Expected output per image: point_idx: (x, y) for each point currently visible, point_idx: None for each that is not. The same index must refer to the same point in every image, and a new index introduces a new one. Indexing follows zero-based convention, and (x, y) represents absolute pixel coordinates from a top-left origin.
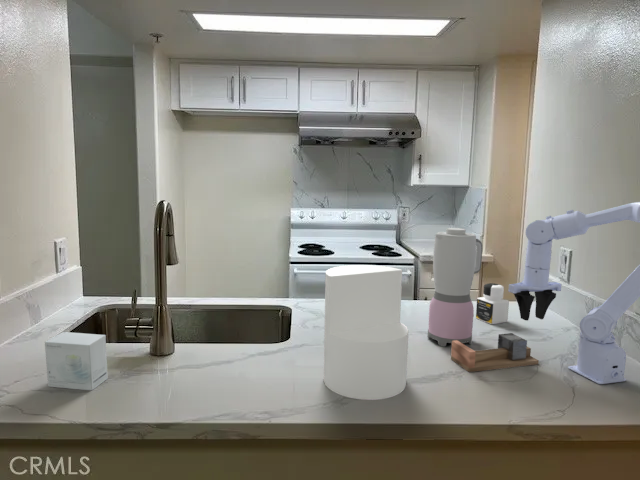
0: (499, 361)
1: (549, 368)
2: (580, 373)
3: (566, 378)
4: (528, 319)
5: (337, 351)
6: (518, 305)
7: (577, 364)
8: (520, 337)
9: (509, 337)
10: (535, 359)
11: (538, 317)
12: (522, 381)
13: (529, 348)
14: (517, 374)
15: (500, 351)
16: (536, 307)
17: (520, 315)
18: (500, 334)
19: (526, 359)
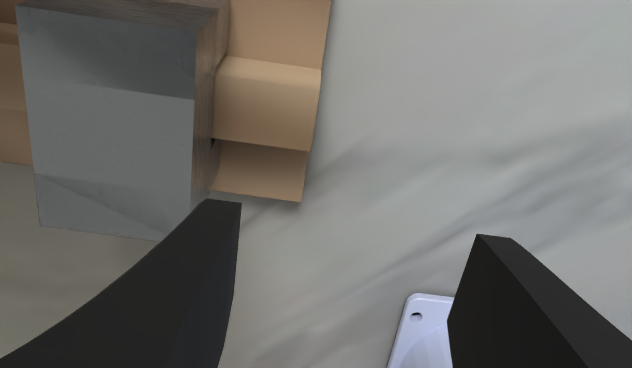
0: (12, 117)
1: (314, 251)
2: (389, 365)
3: (289, 352)
4: (229, 309)
5: None
6: (89, 302)
7: (425, 358)
8: (189, 167)
9: (77, 126)
10: (291, 185)
11: (464, 285)
12: (35, 301)
13: (297, 149)
14: (63, 239)
15: (8, 108)
16: (537, 332)
17: (188, 216)
18: (32, 20)
19: (230, 163)
